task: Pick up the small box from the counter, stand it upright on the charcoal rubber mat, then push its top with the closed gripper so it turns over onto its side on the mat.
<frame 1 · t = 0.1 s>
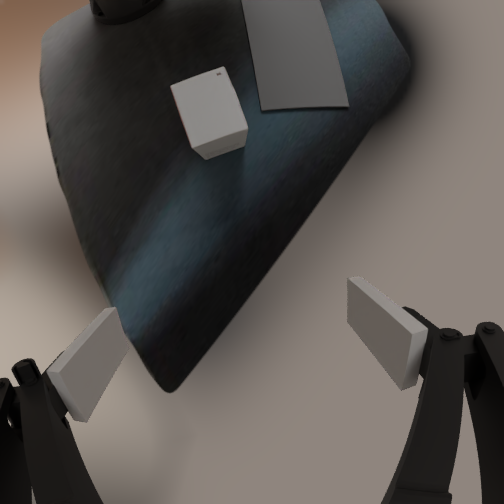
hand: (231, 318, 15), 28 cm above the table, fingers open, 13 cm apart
small box: (216, 130, 38), on the table
mat: (292, 44, 35), on the table
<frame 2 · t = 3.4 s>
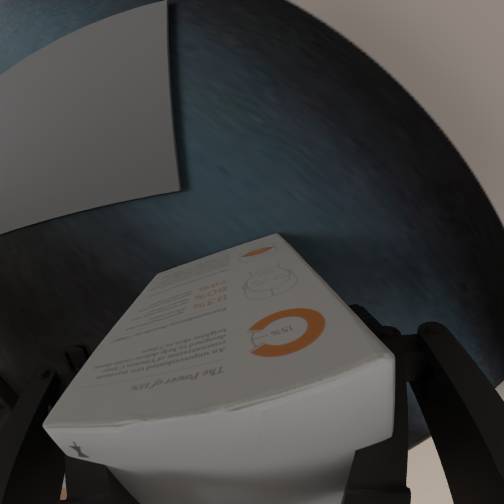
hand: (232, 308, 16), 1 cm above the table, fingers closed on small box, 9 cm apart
small box: (232, 298, 18), on the table, touching gripper
mat: (24, 133, 14), on the table
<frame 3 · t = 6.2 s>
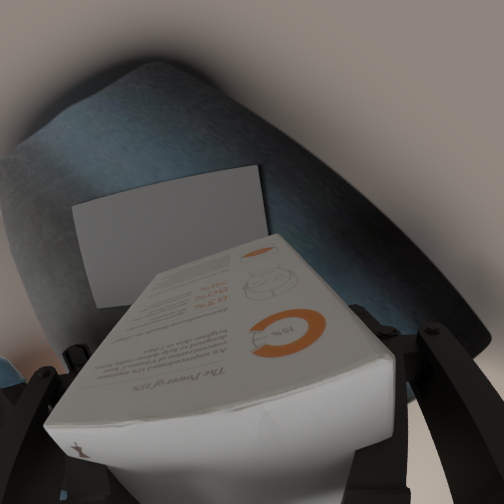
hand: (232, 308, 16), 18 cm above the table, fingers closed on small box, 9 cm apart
small box: (232, 298, 18), point 16 cm above the table, touching gripper
mat: (166, 242, 32), on the table
when the fingers open (3 cm above the table, at t = 9.5 s): small box drops 1 cm, resting on mat.
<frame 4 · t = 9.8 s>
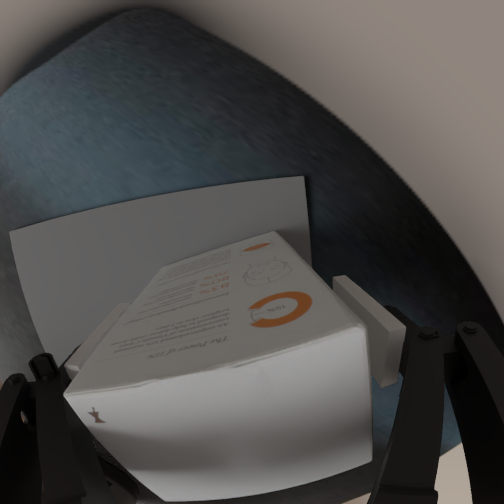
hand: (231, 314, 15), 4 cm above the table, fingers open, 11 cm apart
small box: (232, 290, 19), resting on mat
mat: (144, 298, 19), on the table
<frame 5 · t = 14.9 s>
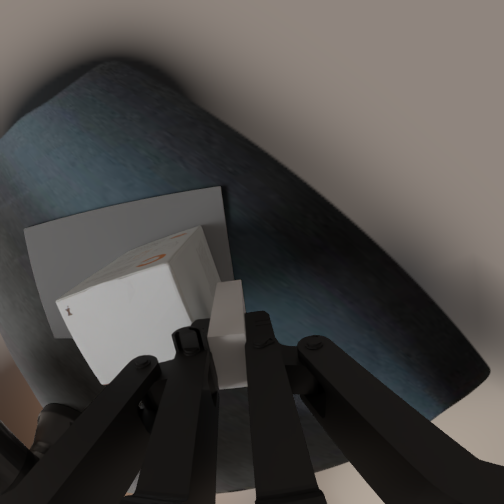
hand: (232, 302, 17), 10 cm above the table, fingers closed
small box: (174, 268, 26), resting on mat, touching gripper
mat: (117, 274, 27), on the table
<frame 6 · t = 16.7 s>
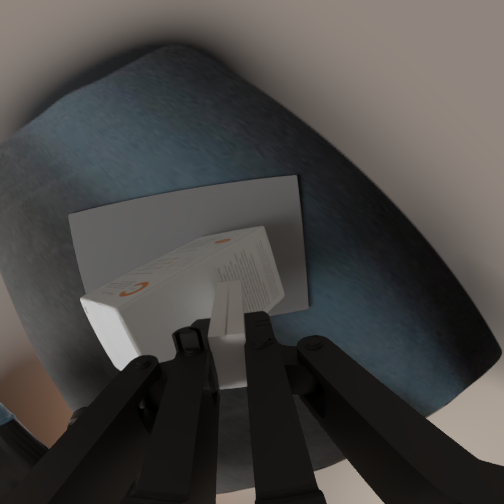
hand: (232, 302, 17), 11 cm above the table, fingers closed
small box: (241, 264, 25), point 3 cm above the table, touching gripper, mat
mat: (184, 261, 27), on the table
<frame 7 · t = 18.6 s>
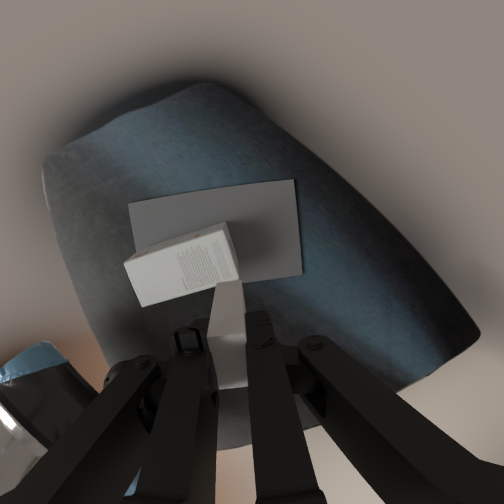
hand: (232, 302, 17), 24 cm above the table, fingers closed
small box: (234, 247, 36), point 5 cm above the table, touching mat
mat: (214, 238, 40), on the table
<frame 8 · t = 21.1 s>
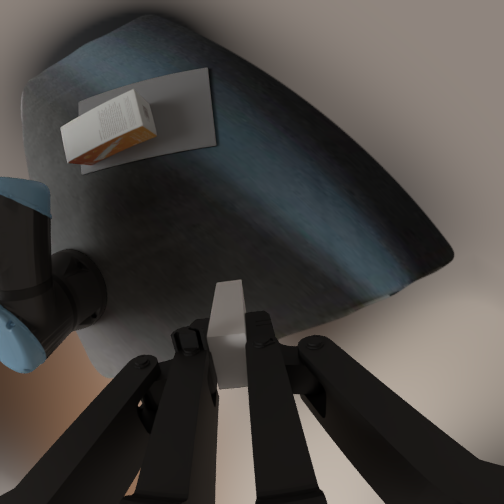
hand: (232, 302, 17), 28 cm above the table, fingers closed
small box: (147, 112, 35), point 5 cm above the table, touching mat
mat: (140, 119, 39), on the table
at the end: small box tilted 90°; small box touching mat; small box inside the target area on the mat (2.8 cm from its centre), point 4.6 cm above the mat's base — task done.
